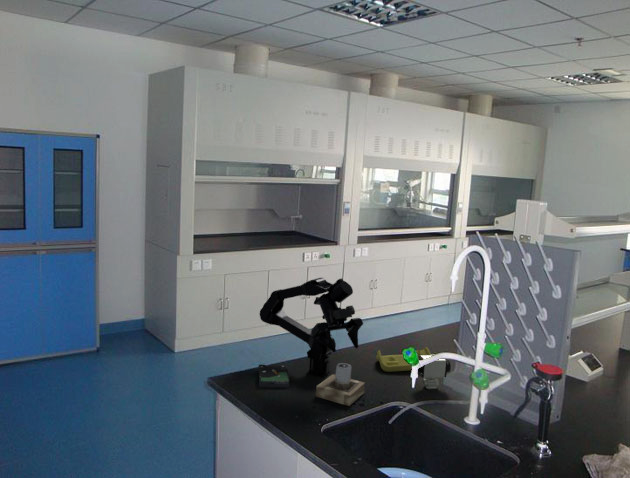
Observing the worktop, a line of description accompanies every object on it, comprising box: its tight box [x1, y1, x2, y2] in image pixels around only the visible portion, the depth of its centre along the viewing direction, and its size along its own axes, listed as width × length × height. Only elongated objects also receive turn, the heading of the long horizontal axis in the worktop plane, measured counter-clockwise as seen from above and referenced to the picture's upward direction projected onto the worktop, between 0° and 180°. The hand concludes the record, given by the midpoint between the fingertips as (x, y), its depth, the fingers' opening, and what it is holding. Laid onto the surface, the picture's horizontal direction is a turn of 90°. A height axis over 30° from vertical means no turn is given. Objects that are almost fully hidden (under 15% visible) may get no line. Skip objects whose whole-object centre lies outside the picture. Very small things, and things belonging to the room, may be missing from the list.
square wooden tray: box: [315, 373, 366, 407], centre depth 169 cm, size 12×12×4 cm
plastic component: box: [375, 347, 432, 373], centre depth 197 cm, size 20×7×10 cm
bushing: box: [335, 362, 352, 391], centre depth 169 cm, size 5×5×10 cm
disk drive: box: [257, 364, 290, 388], centre depth 179 cm, size 10×3×15 cm
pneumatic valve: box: [417, 353, 452, 390], centre depth 179 cm, size 6×12×12 cm, turn 99°
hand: (346, 349), depth 173 cm, fingers open, 9 cm apart
